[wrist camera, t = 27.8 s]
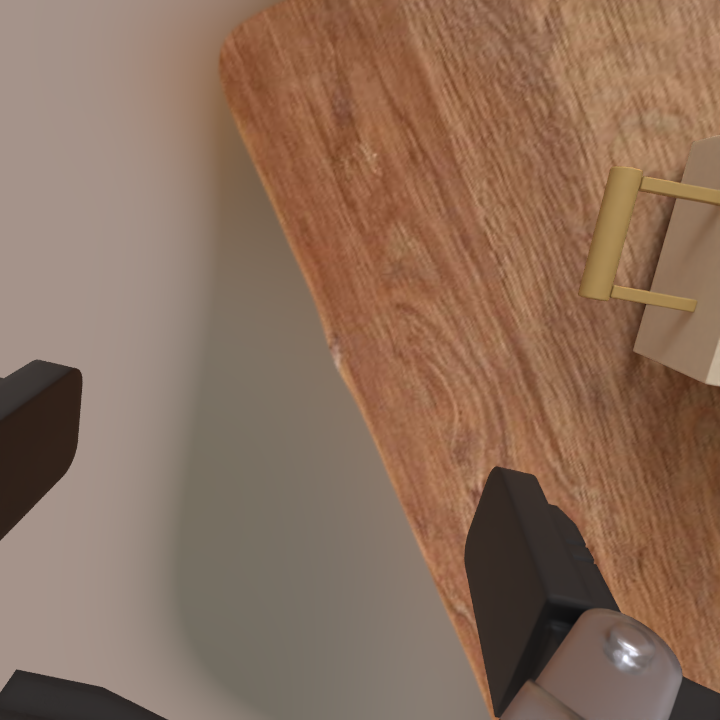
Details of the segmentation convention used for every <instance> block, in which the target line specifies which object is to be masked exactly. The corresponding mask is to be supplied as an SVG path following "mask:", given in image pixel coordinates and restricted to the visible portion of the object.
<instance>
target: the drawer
mask: <svg viewBox="0 0 720 720" xmlns="http://www.w3.org/2000/svg"><path fill="white" fill-rule="evenodd" d="M642 175H643V171H642V170H640V169H637V168H632V167H624V166H615V167H612V168H611V169H610V173H609V177H608V181H607V184H606V188H605V192H604V196H603V200H602V204H601V208H600V211H599V215H598V219H597V223H596V227H595V231H594V234H593V238H592V242H591V246H590V250H589V254H588V258H587V261H586V265H585V269H584V273H583V277H582V281H581V285H580V288H579V292H578V295H579V296H581V297H585V298H590V299H595V300H601V301H608V300H609V297H610V298H615V299H621V300H626V301H632V302H637V303H643V304H646V307H645V310H644V314H643V317H642V321H641V324H640V328H639V331H638V335H637V338H636V342H635V345H634V349H633V351H634V352H636V353H638V354H640V355H642V356H645V357H647V358H649V359H651V360H654V361H656V362H658V363H660V364H662V365H665V366H667V367H669V368H671V369H674V370H676V371H678V372H680V373H682V374H685V375H687V376H689V377H691V378H693V379H696V380H698V381H700V382H702V383H705V384H708V385H713V386H719V387H720V135H718V136H714V137H710V138H706V139H703V140H699V141H695V142H693V143H692V146H691V149H690V153H689V156H688V160H687V163H686V167H685V170H684V174H683V177H682V181H681V183H678V182H672V181H667V180H662V179H656V178H651V177H646V176H643V177H642ZM638 191H642V192H647V193H653V194H658V195H663V196H668V197H674V198H676V202H675V205H674V209H673V212H672V216H671V219H670V223H669V226H668V230H667V233H666V237H665V240H664V244H663V247H662V251H661V254H660V258H659V261H658V265H657V268H656V272H655V275H654V279H653V282H652V286H651V289H650V291H644V290H639V289H633V288H628V287H622V286H617V285H613V282H614V279H615V275H616V271H617V267H618V264H619V260H620V256H621V253H622V249H623V245H624V242H625V238H626V234H627V231H628V227H629V223H630V220H631V216H632V212H633V209H634V205H635V201H636V197H637V194H638Z"/></svg>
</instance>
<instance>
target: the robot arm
mask: <svg viewBox="0 0 720 720" xmlns="http://www.w3.org/2000/svg"><path fill="white" fill-rule="evenodd" d="M81 395H82V374H81V372H80V370H79V369H77V368H72V367H68V366H64V365H59V364H55V363H51V362H46V361H42V360H34V361H32V362H30V363H29V364H27V365H25V366H24V367H22V368H20V369H19V370H17V371H16V372H14V373H12V374H10V375H9V376H7V377H5V378H0V540H1V539H2V538H3V537H4V536H5V535H6V534H7V533H8V532H9V531H10V530H11V529H12V528H13V527H14V526H15V525H16V524H17V523H18V522H19V521H20V520H21V519H22V518H23V516H25V515H26V514H27V513H28V512H29V511H30V510H31V509H32V508H33V507H34V505H35V504H36V503H37V502H38V501H39V500H40V499H41V498H42V497H43V496H44V495H45V494H46V493H47V492H48V491H49V490H50V489H51V488H52V487H53V486H54V485H55V484H56V483H57V482H58V481H59V480H60V479H61V478H62V477H63V476H64V474H65V473H66V472H67V470H68V469H69V467H70V465H71V463H72V461H73V459H74V456H75V453H76V449H77V443H78V433H79V419H80V408H81ZM585 545H586V543H585V542H584V540H583V538H582V536H581V534H580V532H579V530H578V528H577V526H576V524H575V523H574V522H573V521H572V520H571V519H570V518H569V517H568V516H567V515H566V514H565V513H564V512H563V511H562V510H561V509H560V508H559V507H558V506H555V505H551V504H548V502H547V500H546V497H545V495H544V493H543V491H542V489H541V487H540V485H539V482H538V480H537V478H536V477H535V476H534V475H532V474H528V473H524V472H519V471H515V470H511V469H506V468H502V467H498V466H496V467H494V468H493V469H492V471H491V472H490V474H489V477H488V479H487V482H486V485H485V488H484V490H483V493H482V496H481V499H480V501H479V504H478V507H477V510H476V512H475V515H474V518H473V521H472V523H471V526H470V529H469V532H468V535H467V540H466V545H465V557H464V560H465V568H466V573H467V578H468V583H469V588H470V593H471V598H472V603H473V608H474V613H475V618H476V623H477V629H478V634H479V639H480V644H481V649H482V654H483V659H484V664H485V669H486V674H487V679H488V684H489V689H490V694H491V699H492V704H493V709H494V714H495V717H498V718H500V719H499V720H720V694H719V693H717V692H715V691H713V690H711V689H709V688H706V687H704V686H702V685H700V684H698V683H695V682H693V681H691V680H689V679H687V678H685V677H683V675H682V669H681V666H680V663H679V661H678V659H677V657H676V655H675V654H674V653H673V651H672V650H671V648H670V647H669V646H668V645H667V644H666V643H665V642H664V641H663V640H662V639H661V638H660V637H659V636H658V635H657V634H656V633H655V632H653V631H652V630H651V629H650V628H648V627H647V626H645V625H644V624H642V623H641V622H639V621H637V620H635V619H634V618H632V617H630V616H627V615H625V614H623V613H621V611H620V610H619V608H618V606H617V604H616V602H615V600H614V598H613V596H612V594H611V592H610V590H609V588H608V586H607V584H606V582H605V580H604V578H603V577H602V575H601V573H600V571H599V569H598V567H597V565H596V564H594V559H593V557H592V555H591V553H590V551H589V549H588V548H586V547H585ZM0 720H167V719H165V718H163V717H161V716H159V715H157V714H155V713H153V712H151V711H149V710H147V709H145V708H143V707H141V706H139V705H137V704H135V703H133V702H131V701H129V700H127V699H125V698H123V697H121V696H119V695H117V694H115V693H113V692H111V691H109V690H107V689H105V688H103V687H99V686H94V685H89V684H85V683H80V682H75V681H70V680H65V679H60V678H55V677H50V676H45V675H41V674H36V673H31V672H26V671H21V670H16V671H15V672H14V674H13V675H12V677H11V678H10V679H9V681H8V682H7V684H6V685H5V687H4V688H3V689H2V691H1V692H0Z"/></svg>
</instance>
